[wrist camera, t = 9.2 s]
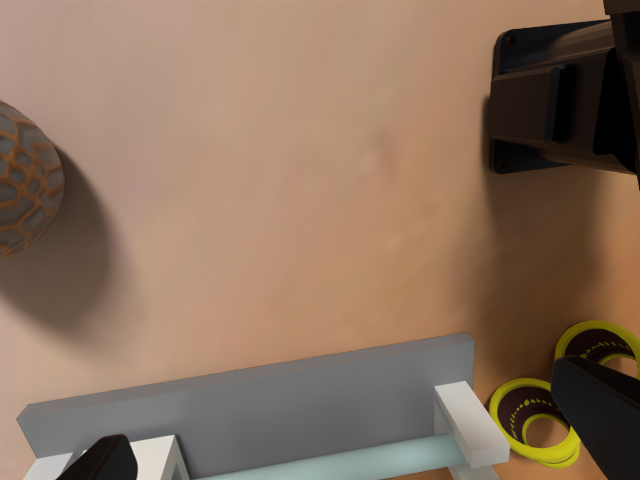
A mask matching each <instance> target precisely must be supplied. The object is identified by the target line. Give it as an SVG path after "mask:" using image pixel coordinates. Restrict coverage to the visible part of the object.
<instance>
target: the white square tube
mask: <svg viewBox="0 0 640 480" xmlns="http://www.w3.org/2000/svg"><path fill="white" fill-rule="evenodd" d="M130 445H131V447H132V450H133V452H134V455H135V457H136V460H137V463H138V475H137V480H190V479H189V476H188V473H187V470H186V467H185V464H184V461H183V458H182V455H181V452H180V449H179V446H178V443H177V440H176V437H175V435H170V436H164V437H158V438H153V439H147V440H141V441H136V442H130ZM86 451H87V450H84V451H83V453H82V454H84V453H85V452H86Z"/></svg>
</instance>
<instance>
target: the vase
mask: <svg viewBox="0 0 640 480" xmlns="http://www.w3.org/2000/svg"><path fill="white" fill-rule="evenodd" d="M64 187H65V181H64V172H63V168H62V164H61V161H60V159H59V156H58V154H57V152H56V150H55V148H54V147H53V145H52V143H51V142H50V140H49V139H48V138H47V136H46V135H45V134H44V133H43V132H42V130H41V129H40V128H39V127H38V126H37V125H36V124H35V123H33V122H32V121H31V120H30V119H29V118H27V117H26V116H25V115H23V114H22V113H21V112H19V111H18V110H17V109H15V108H14V107H12V106H10V105H9V104H7V103H5V102H3V101H1V100H0V262H2V261H4V260H6V259H8V258H10V257H12V256H14V255H15V254H17V253H19V252H20V251H22V250H23V249H25V248H26V247H28V246H29V245H30V244H32V243H33V242H34V241H36V240H37V239H38V238H39V237H40V236H41V235H42V234H43V233H44V232H45V230H46V229H47V228H48V227H49V226H50V224H51V223H52V221H53V220H54V218H55V216H56V215H57V213H58V211H59V208H60V206H61V203H62V199H63V195H64Z"/></svg>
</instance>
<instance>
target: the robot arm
mask: <svg viewBox="0 0 640 480" xmlns="http://www.w3.org/2000/svg"><path fill="white" fill-rule="evenodd" d="M603 3H604V9H605V15H610V19H606V20H597V21H587V22H578V23H568V24H559V25H549V26H540V27H531V28H521V29H512V30H509V31H506V32H503V33H502V34H501V35H499V37H498V38H497V40H496V45H495V64H494V79H493V80H492V82H491V95H490V114H489V135H490V137H491V138H490V157H489V167H490V169H491V171H492V172H494V173H498V174H507V173H514V172H521V171H529V170H536V169H544V168H551V167H558V166H566V165H578V166H584V167H590V168H596V169H601V170H607V171H613V172H619V173H625V174H631V175H636V176H637V178H638V184H639V190H640V0H603ZM507 38H509V39H510V40H511V45H510V47H509V48H508V47H507V46H506V40H507ZM500 160H503V165H502V166H501V167H500V168H499V167H498V163H499V161H500ZM550 390H551V394H552V397H553V399H554V401H555V402H556V404H557V405H558V407H559V408H560V410H561V411H562V413H563V414H564V416H565V417H566V419H567V420H568V422H569V423H570V425H571V426H572V428H573V429H574V431H575V432H576V434H577V435H578V437H579V438H580V440H581V441H582V443H583V444H584V446H585V447H586V449H587V450H588V452H589V453H590V455H591V456H592V458H593V459H594V461H595V462H596V464H597V465H598V467H599V468H600V469H601V471H602V472H603V474H604V475H605V476H606V478H607V479H608V480H640V380H638V379H636V378H633V377H631V376H628V375H626V374H623V373H621V372H618V371H616V370H613V369H611V368H608V367H606V366H603V365H601V364H598V363H596V362H593V361H590V360H588V359H585V358H583V357H580V356H577V355H570V356H564V357H559V358H557V359H556V360H555V361H554V364H553V371H552V378H551V385H550ZM137 475H138V463H137V460H136V457H135V455H134V452H133V450H132V447H131V445H130V442H129V440H128V438H127V436H126V435H125V434H121V433H120V434H115V435H109V436H104V437H102V438H100V439H99V440H98V441H97V442H95V443H94V444H93V445H92V446H91V447H90V448H89V449H88V450H87V451H86V452H85V453H84V454H82V455H81V456H80V457H79V458H78V459H77V460H76V461H75V462H74V463H73V464H72V465H71V466H69V467H68V468H67V469H66V470H65V471H64V472H63V473H62V474H61V475H60V476H59V477H58V478H56V479H55V480H137Z"/></svg>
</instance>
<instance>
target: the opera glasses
mask: <svg viewBox="0 0 640 480" xmlns="http://www.w3.org/2000/svg"><path fill="white" fill-rule="evenodd" d="M574 336H575V337H574ZM570 355H577V356H580V357H583V358H585V359H588V360H590V361H593V362H596V363H598V364H601V365H603V364H604V363H605V362H606V361H608V360H610V359H612V358H617V357H625V358H631V359H633V360H635V361H637V366H638V372H637V377H636V379H638V380H640V340H639V339H638V338H637V337H636V336H634V335H633V334H632V333H631V332H629V331H628V330H626V329H625V328H623V327H621V326H619V325H616V324H614V323H610V322H606V321H599V320H591V321H584V322H581V323H577V324H575V325H573V326H572V327H570V328H569V329H567V330H566V331H565V332H564V334H563V335H562V336H561V338H560V339H559V341H558V342H557V345H556V349H555V360H556V359H557V358H559V357H564V356H570ZM550 385H551V384H550V383H548V382H546V381H543V380H539V379H534V378H518V379H514V380H511V381H508V382H506V383H504V384H503V385H501V386H500V387H499V388H498V389H497V390H496V391H495V392H494V394H493V396H492V397H491V400H490V404H489V415H490V416H491V418H492V419H493V421H494V422H495V423H496V425H497V426H498V428H499V429H500V431H501V432H502V433H503V435H504V436H505V438H506V439H507V441H508V442H509V443H510V448H511V449H512V450H513V451H515V452H516V453H518V454H520V455H522V456H525V457H527V458H529V459H533V460H534V461H536V462H537V463H539V464H541V465H543V466H545V467H548V468H553V469H561V468H565V467H568V466H570V465H571V464H573V463H574V462H575V461H576V460H577V458H578V456H579V454H580V442H581V440H580V438H579V437H578V435H577V434H576V432H575V431H574V429H573V428H572V426H571V425H570V423H569V422H568V420H567V419H566V417H565V416H564V414H563V413H562V411H561V410H560V408H559V407H558V405H557V404H556V402H555V401H554V399H553V397H552V394H551V390H550ZM524 386H525V387H524ZM532 386H533V387H532ZM538 418H551V419H554V420H556V421H558V422H559V423H561V424H562V425H563V426H564V427H565V428H566V429H567V430H568V432H569V434H568V436H567V438H566V439H565V440H564V441H563V442H562V443H560V444H558V445H556V446H553V447H549V448H533V447H530V446H529V445H528V443H527V439H526V429H527V427H528V425H529V424H530V423H531V422H532V421H533V420H535V419H538Z"/></svg>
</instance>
